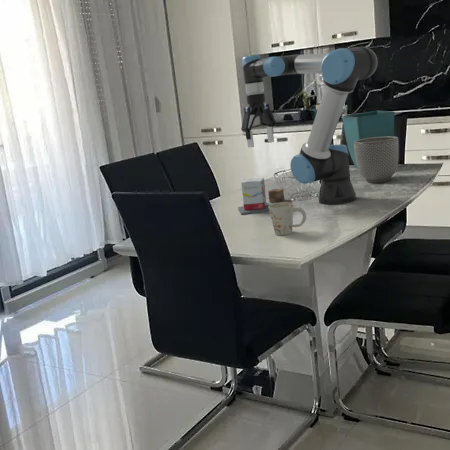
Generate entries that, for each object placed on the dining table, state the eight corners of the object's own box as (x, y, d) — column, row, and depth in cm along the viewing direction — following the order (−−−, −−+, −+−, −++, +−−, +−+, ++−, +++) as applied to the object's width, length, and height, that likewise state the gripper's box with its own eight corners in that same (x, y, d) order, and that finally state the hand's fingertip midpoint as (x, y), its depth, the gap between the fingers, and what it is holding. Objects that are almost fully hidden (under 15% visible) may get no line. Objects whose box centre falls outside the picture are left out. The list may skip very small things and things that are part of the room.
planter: (406, 176, 291) (403, 135, 287) (392, 184, 275) (389, 141, 271) (365, 177, 302) (362, 137, 297) (350, 185, 286) (346, 143, 281)
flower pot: (361, 174, 311) (356, 116, 305) (345, 169, 330) (341, 115, 324) (398, 168, 315) (394, 111, 308) (381, 164, 334) (377, 110, 327)
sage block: (259, 204, 270) (258, 195, 269) (243, 207, 269) (242, 198, 269) (258, 203, 274) (257, 194, 273) (242, 205, 273) (241, 196, 272)
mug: (269, 232, 220) (266, 204, 218) (305, 227, 221) (302, 199, 219) (273, 237, 212) (270, 208, 210) (310, 232, 213) (307, 203, 211)
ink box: (264, 209, 256) (261, 180, 253) (243, 210, 258) (240, 182, 255) (267, 204, 264) (264, 176, 261) (247, 206, 266) (244, 178, 263)
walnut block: (284, 199, 273) (283, 188, 272) (280, 202, 269) (279, 190, 268) (273, 200, 276) (272, 189, 275) (269, 202, 271) (268, 191, 270)
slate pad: (268, 204, 267) (267, 202, 267) (273, 210, 255) (272, 208, 254) (238, 208, 266) (237, 207, 266) (241, 214, 254) (241, 213, 254)
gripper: (266, 91, 272) (272, 140, 277) (228, 97, 254) (235, 149, 259) (280, 89, 267) (286, 139, 271) (242, 96, 249) (249, 149, 254)
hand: (261, 144), depth 265 cm, fingers open, 13 cm apart
